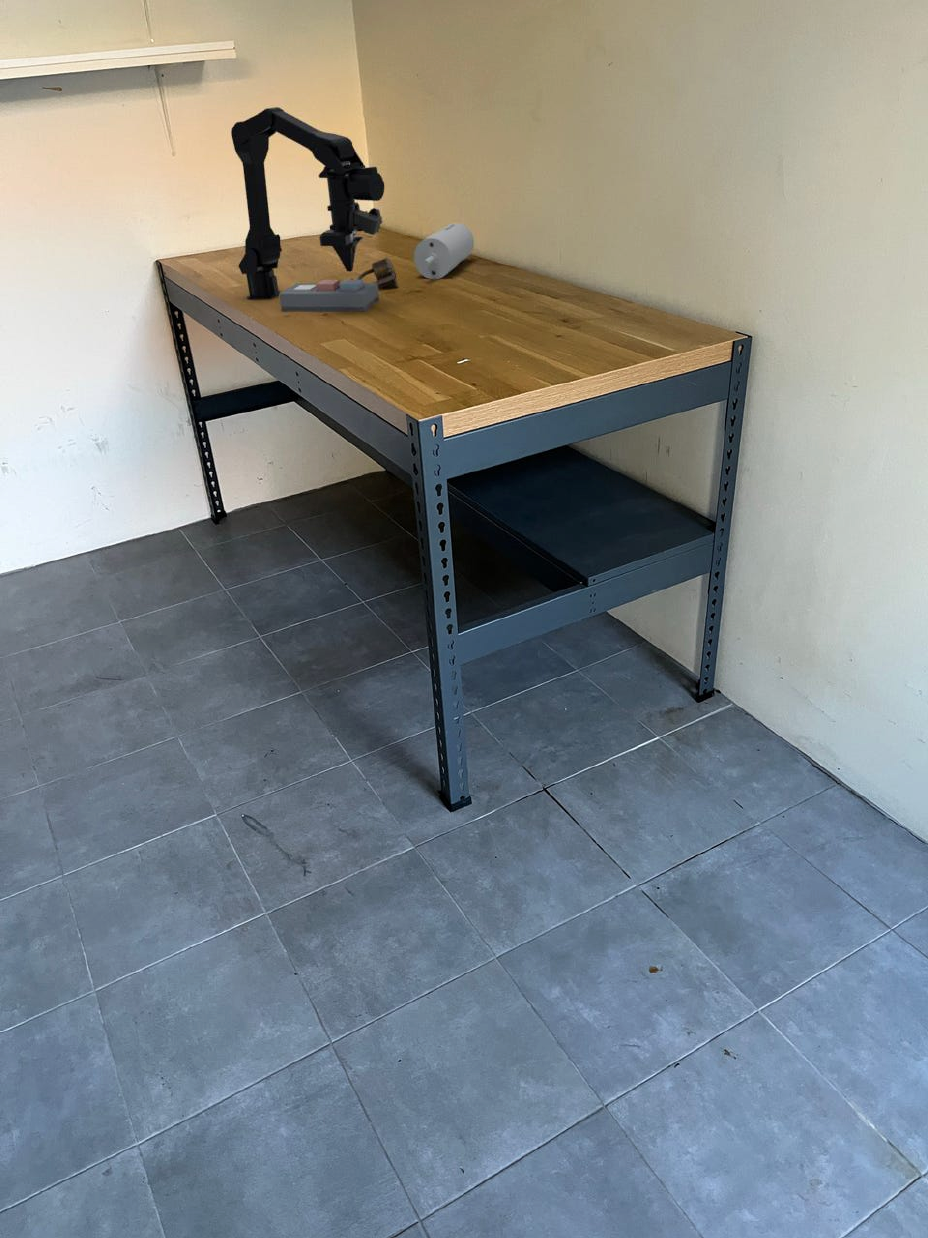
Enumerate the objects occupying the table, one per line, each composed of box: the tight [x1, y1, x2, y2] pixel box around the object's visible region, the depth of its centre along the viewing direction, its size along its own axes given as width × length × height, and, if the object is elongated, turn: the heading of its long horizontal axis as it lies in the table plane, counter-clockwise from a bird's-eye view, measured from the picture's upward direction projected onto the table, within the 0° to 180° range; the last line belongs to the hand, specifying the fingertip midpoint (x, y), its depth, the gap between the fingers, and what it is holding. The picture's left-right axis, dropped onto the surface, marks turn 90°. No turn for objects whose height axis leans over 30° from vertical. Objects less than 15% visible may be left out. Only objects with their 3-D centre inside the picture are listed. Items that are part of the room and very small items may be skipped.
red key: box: [316, 279, 341, 291], centre depth 224 cm, size 4×4×3 cm
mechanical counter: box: [349, 257, 399, 289], centre depth 238 cm, size 7×13×10 cm
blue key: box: [340, 279, 365, 291], centre depth 223 cm, size 4×4×3 cm
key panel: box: [278, 282, 380, 313], centre depth 225 cm, size 21×11×4 cm, turn 77°
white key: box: [293, 285, 316, 291], centre depth 226 cm, size 4×4×3 cm
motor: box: [413, 222, 475, 280], centre depth 250 cm, size 30×10×10 cm, turn 164°
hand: (349, 270), depth 221 cm, fingers closed
